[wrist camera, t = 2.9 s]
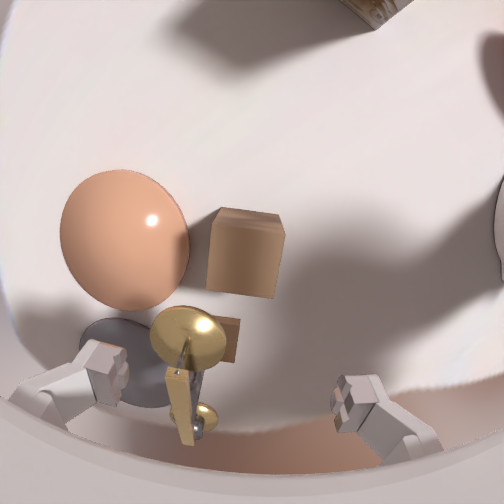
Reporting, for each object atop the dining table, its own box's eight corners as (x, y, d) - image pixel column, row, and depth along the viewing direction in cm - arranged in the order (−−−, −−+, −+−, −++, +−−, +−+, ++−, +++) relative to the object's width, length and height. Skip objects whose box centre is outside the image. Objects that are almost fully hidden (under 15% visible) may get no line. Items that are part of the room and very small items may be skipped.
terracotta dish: (196, 175, 24) (193, 176, 23) (186, 315, 29) (184, 321, 28) (65, 167, 23) (58, 169, 22) (72, 292, 28) (67, 297, 27)
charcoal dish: (186, 330, 29) (183, 337, 28) (186, 410, 34) (184, 416, 33) (74, 306, 29) (70, 312, 28) (94, 387, 34) (91, 392, 32)
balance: (249, 257, 26) (243, 356, 14) (229, 394, 33) (220, 489, 20) (174, 247, 26) (111, 332, 13) (174, 385, 32) (148, 476, 20)
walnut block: (278, 214, 25) (285, 233, 19) (269, 267, 27) (273, 298, 21) (221, 206, 25) (211, 223, 19) (215, 260, 27) (205, 289, 21)
